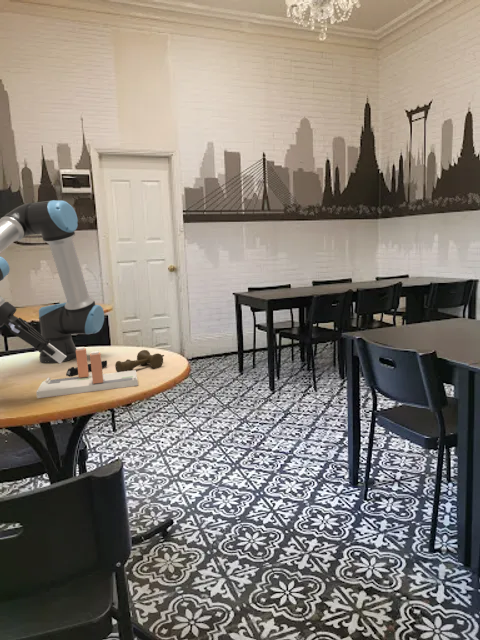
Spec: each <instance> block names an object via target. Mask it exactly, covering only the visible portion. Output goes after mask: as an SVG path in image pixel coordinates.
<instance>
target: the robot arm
mask: <svg viewBox="0 0 480 640" xmlns="http://www.w3.org/2000/svg"><path fill="white" fill-rule="evenodd" d="M78 220H79V219H78V216H77V212H76V210H75V208H74V207H73V206H72V205H71V204H70V203H68V202H67V201H66V200H62V199H61V200H55V199H53V200H46V201H37V202H27V203H23V204H21V205H19V206H17V207H15V208H14V209H12V210H11V211H10V212H7V213H6V214H5V215H4V216H2V217H0V254H1V253H2V252H3V251H4V250H6V249H7V248H8V247H9V246H11V244H13V243H14V242H18V241H21V240H22V239H23V238H25V237H28V236H32V235H41V238H42V240H43V242H44V243H46V244H47V245H49V248H50V252H51V255H52V259H53V261H54V264H55V269H56V271H57V273H58V276H59V280H60V284H61V287H62V289H63V292H64V295H65V299H66V302H62V303H55V304H52V305H45V306H42V307H40V308H39V310H38V319H39V326H40V327H39V328H40V332H39V331H37V329H35V328H34V327H33V326H32V325H30V324H29V322H27V320H25V319H22V318H21V317H18V316H16V315H15V314H16V312H17V308H16V307H15V306H14V305H13V304H12V303H10V302H8V301H5V300H6V299H5V297H4V298H3V297H2V296H1V295H0V328H2V327H3V326H6V327H7V328H8V331H9V332H10V333H11V334H12V335H14V336H15V337H17V338H20V340H22V341H24V342H25V343H27V344H28V345H30V346H31V347H33V348H35V349H36V350H37V351H38V352H39V363H43V364H51V363H52V364H53V363H54V364H55V363H58V364H62V363H63V362H67V361H72V360H75V359H77V358H76V349H77V347H76V344H75V343H74V341H73V337H72V335H91V334H97V333H99V332H100V331H101V329H102V328H103V325H104V322H105V310H104V308H103V307H102V306H101V305H100V304H96V301H95V299H94V297H92V296H90V294H89V292H88V288H87V284H86V282H85V278H84V275H83V272H82V267H81V265H80V264H81V263H80V262H79V258H78V255H77V251H76V247H75V244H74V240H73V239H74V237H75V235H76V232H75V231H76V230H77V229H78V227H79V226H78V222H79V221H78ZM10 269H11V268H10V266H9V263H8V261H7V260H6V259H5V258H4V257H3V256H0V282H1V281H3V280H4V279H5V278H6V276H7V275H8V274H10Z"/></svg>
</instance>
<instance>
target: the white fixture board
mask: <svg viewBox="0 0 480 640" xmlns="http://www.w3.org/2000/svg"><path fill="white" fill-rule="evenodd" d="M137 386H139V381H138V373H137V370H135V369H133V370H132V371H124V372H117V371H116V372H109V373H107V372H106V373H103V383H95V384H93V379H92V372H89V376H88V377H81V378H79V376H70V377H64V378H57V379H56V378H55V379H51V377H47V378H46V379H45V380H43V381H41V383H40V385H39V386H38V389H37V390H36V398H37V399H43V398H44V399H45V398H49V397H50V398H51V397H58V396H65V395H73V394H75V395H76V394H83V393H89V392H99V391H104V390H106V391H107V390H112V389H113V390H114V389H121V388H130V387H137Z"/></svg>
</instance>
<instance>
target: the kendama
mask: <svg viewBox="0 0 480 640" xmlns="http://www.w3.org/2000/svg"><path fill="white" fill-rule="evenodd" d="M136 355H137V356H136V360H135V359H134V360H132V359H126V360H124V361H121V360H118V361H116V362H115V365H114V366H115V367H114V368H115V371H116V372H124V371H132V370H135V369H134V368H137V367H139V366H147V365H150V366H151V368H153V369H159V368H162V366H163V363H164V357H165V355H164V354H161V353H154V354H151V353H150V351H149V350H148V349H147V350H146V349H142V350H140V351H139V352H138V353H137V354H136Z"/></svg>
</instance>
